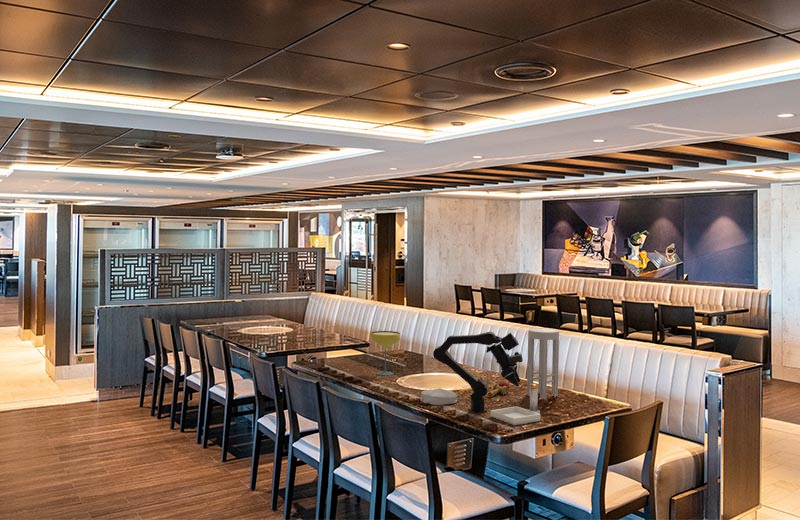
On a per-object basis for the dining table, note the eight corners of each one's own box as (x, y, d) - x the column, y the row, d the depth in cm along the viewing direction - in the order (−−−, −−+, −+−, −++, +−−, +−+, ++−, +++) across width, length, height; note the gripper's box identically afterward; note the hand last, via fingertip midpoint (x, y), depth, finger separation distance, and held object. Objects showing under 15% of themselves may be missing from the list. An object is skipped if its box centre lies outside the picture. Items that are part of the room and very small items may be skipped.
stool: (563, 396, 343) (564, 330, 342) (544, 400, 333) (545, 333, 332) (540, 391, 355) (541, 327, 354) (521, 395, 346) (522, 329, 345)
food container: (413, 398, 337) (413, 385, 337) (448, 395, 344) (448, 382, 344) (428, 408, 318) (429, 394, 318) (465, 404, 325) (465, 391, 325)
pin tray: (490, 416, 301) (490, 410, 301) (516, 412, 310) (516, 406, 309) (513, 425, 288) (513, 418, 287) (540, 420, 296) (540, 414, 296)
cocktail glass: (393, 378, 384) (394, 335, 383) (365, 375, 390) (366, 333, 389) (404, 372, 400) (404, 332, 400) (377, 370, 407) (377, 330, 406)
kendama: (498, 401, 337) (513, 390, 351) (495, 389, 337) (511, 379, 351) (485, 401, 342) (501, 390, 356) (482, 390, 342) (499, 379, 356)
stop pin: (524, 412, 311) (524, 383, 310) (533, 410, 314) (534, 382, 314) (533, 414, 306) (533, 386, 305) (542, 413, 309) (543, 385, 308)
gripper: (513, 350, 297) (532, 379, 295) (516, 344, 315) (534, 371, 313) (493, 362, 299) (511, 391, 297) (497, 355, 317) (515, 383, 316)
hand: (518, 384), depth 306 cm, fingers open, 9 cm apart
